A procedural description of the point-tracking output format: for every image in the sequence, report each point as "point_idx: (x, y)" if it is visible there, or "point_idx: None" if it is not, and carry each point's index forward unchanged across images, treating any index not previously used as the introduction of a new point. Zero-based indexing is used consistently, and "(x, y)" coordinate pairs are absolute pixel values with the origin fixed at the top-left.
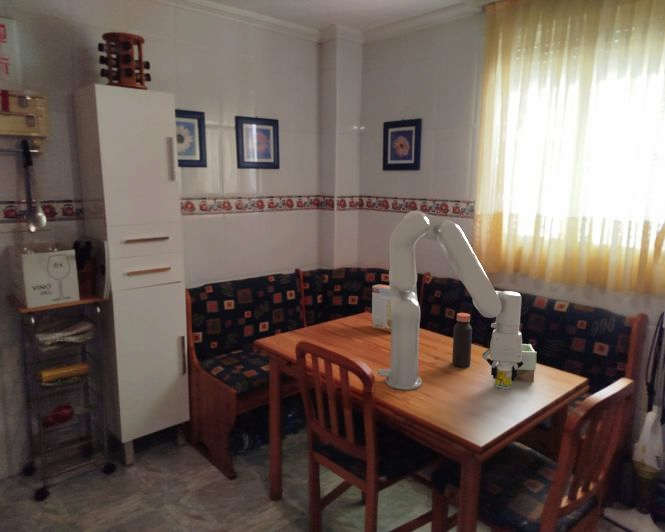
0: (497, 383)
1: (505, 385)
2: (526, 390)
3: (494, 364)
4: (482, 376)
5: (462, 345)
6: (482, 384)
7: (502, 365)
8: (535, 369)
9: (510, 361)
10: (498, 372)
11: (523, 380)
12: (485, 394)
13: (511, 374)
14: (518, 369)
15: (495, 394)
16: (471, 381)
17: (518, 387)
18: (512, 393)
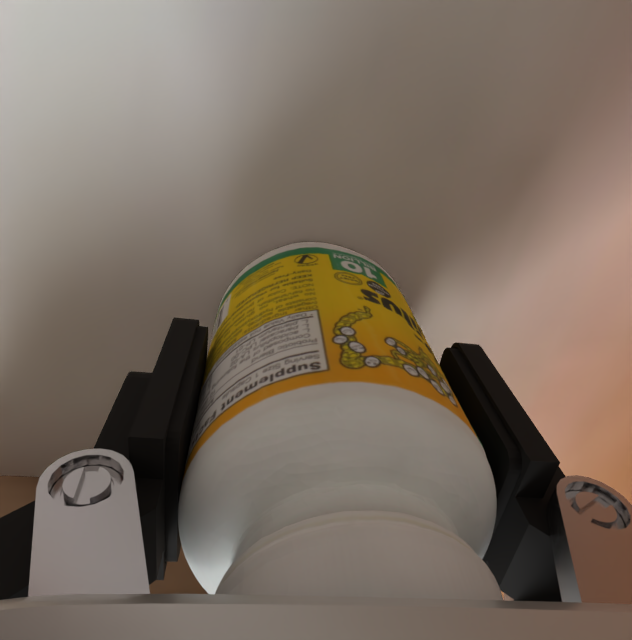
0: (405, 300)
1: (309, 256)
2: (29, 241)
3: (595, 537)
4: None
5: None
6: (531, 341)
7: (424, 518)
8: None
9: (256, 616)
10: (453, 396)
11: None
12: (625, 43)
13: (212, 386)
14: None
15: (484, 58)
16: (616, 395)
17: (127, 315)
18: (233, 121)
